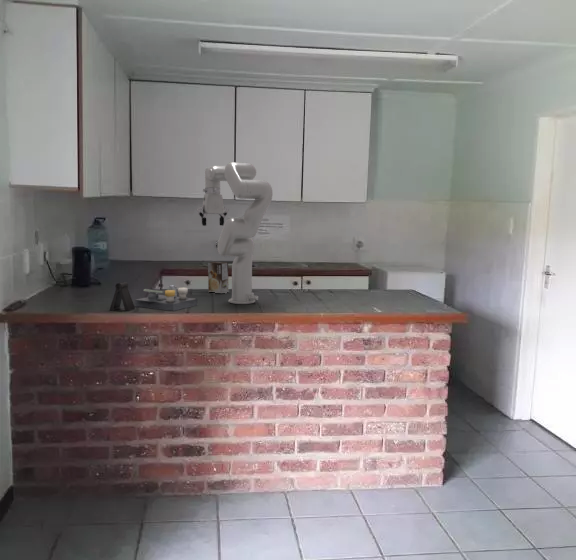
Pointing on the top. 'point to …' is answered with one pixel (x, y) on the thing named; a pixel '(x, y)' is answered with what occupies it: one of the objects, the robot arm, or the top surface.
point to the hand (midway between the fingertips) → (213, 225)
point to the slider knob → (172, 287)
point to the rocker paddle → (153, 291)
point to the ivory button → (182, 293)
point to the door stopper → (122, 298)
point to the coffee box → (218, 277)
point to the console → (164, 302)
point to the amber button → (169, 296)
